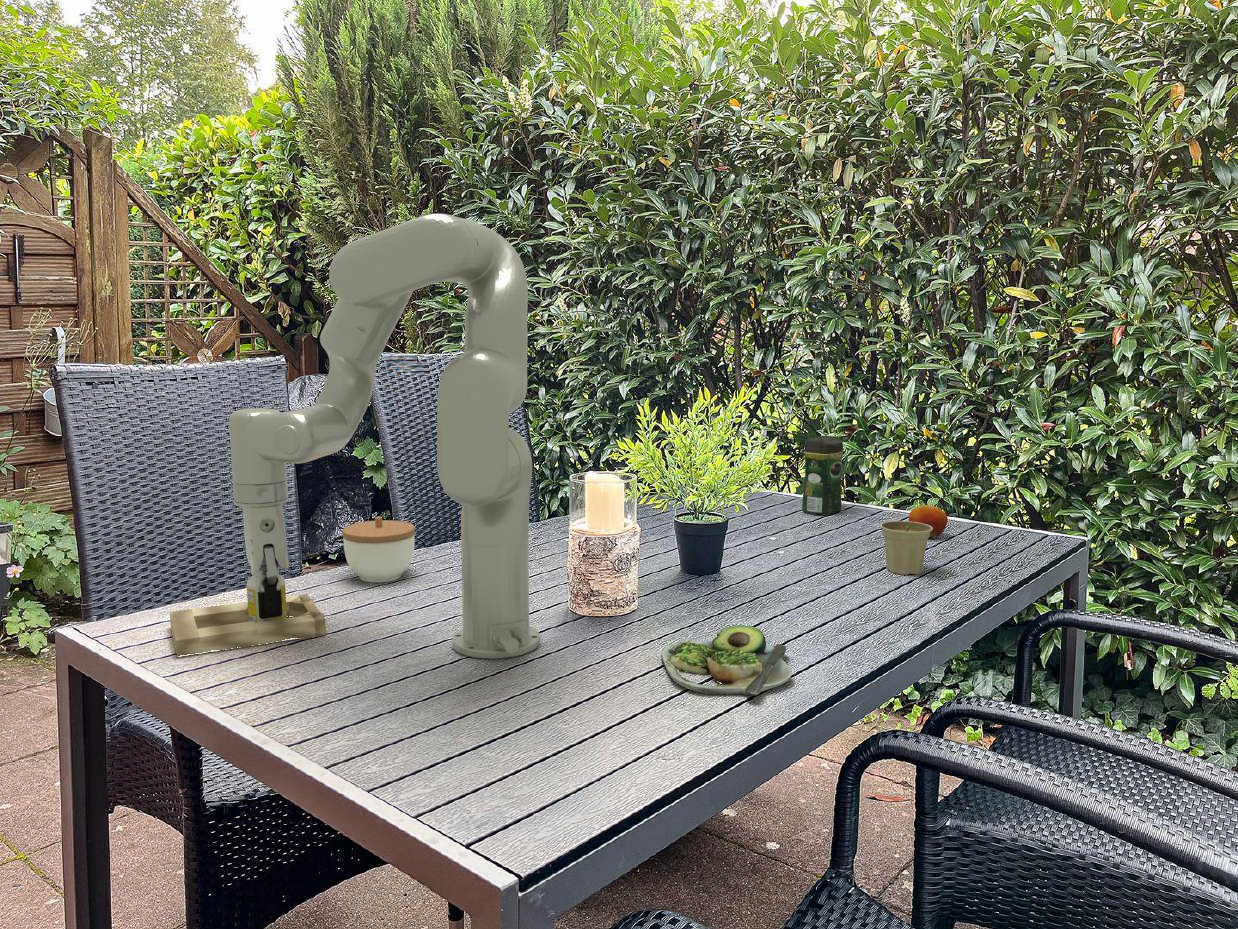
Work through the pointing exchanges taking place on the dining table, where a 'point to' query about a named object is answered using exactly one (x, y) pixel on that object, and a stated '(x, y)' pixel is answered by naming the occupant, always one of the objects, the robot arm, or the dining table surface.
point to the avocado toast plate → (729, 662)
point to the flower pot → (905, 545)
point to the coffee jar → (822, 475)
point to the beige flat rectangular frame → (242, 626)
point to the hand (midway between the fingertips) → (267, 610)
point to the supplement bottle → (253, 597)
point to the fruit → (930, 518)
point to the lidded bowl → (379, 549)
